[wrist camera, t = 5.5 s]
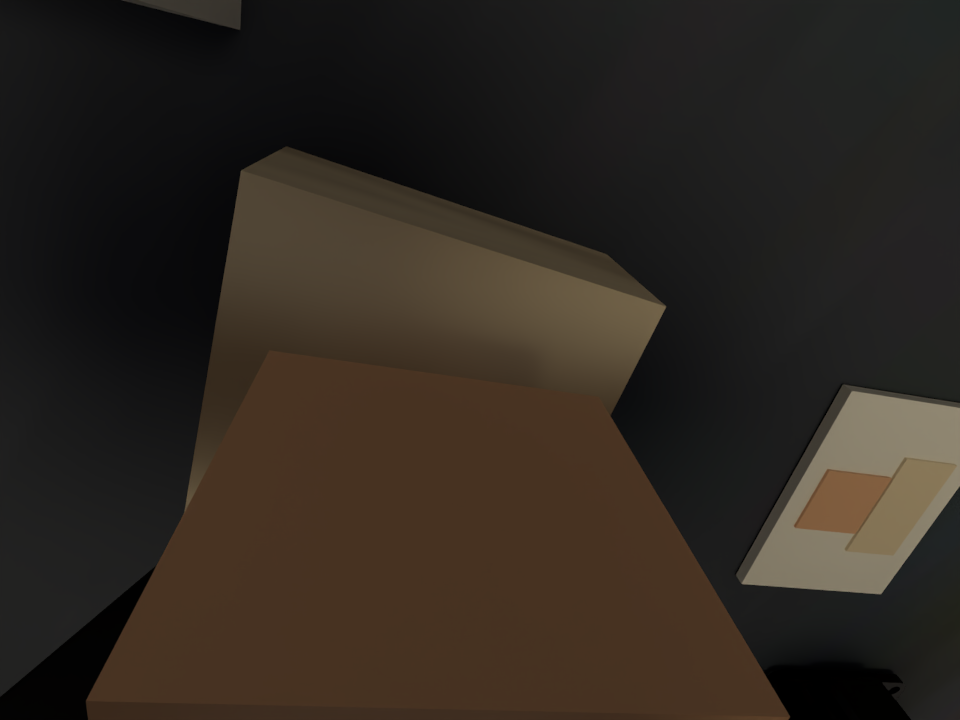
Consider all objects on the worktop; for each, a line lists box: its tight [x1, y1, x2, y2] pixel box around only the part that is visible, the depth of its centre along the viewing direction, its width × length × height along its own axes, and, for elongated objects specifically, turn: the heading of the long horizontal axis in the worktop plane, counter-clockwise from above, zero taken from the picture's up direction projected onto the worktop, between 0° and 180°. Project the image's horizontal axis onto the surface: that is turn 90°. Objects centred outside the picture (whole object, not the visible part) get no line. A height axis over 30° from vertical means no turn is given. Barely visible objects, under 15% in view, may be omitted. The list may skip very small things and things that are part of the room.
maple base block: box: [185, 146, 666, 511], centre depth 13 cm, size 8×8×4 cm
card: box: [736, 384, 960, 594], centre depth 19 cm, size 8×6×1 cm
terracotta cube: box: [86, 350, 790, 720], centre depth 7 cm, size 5×5×5 cm
